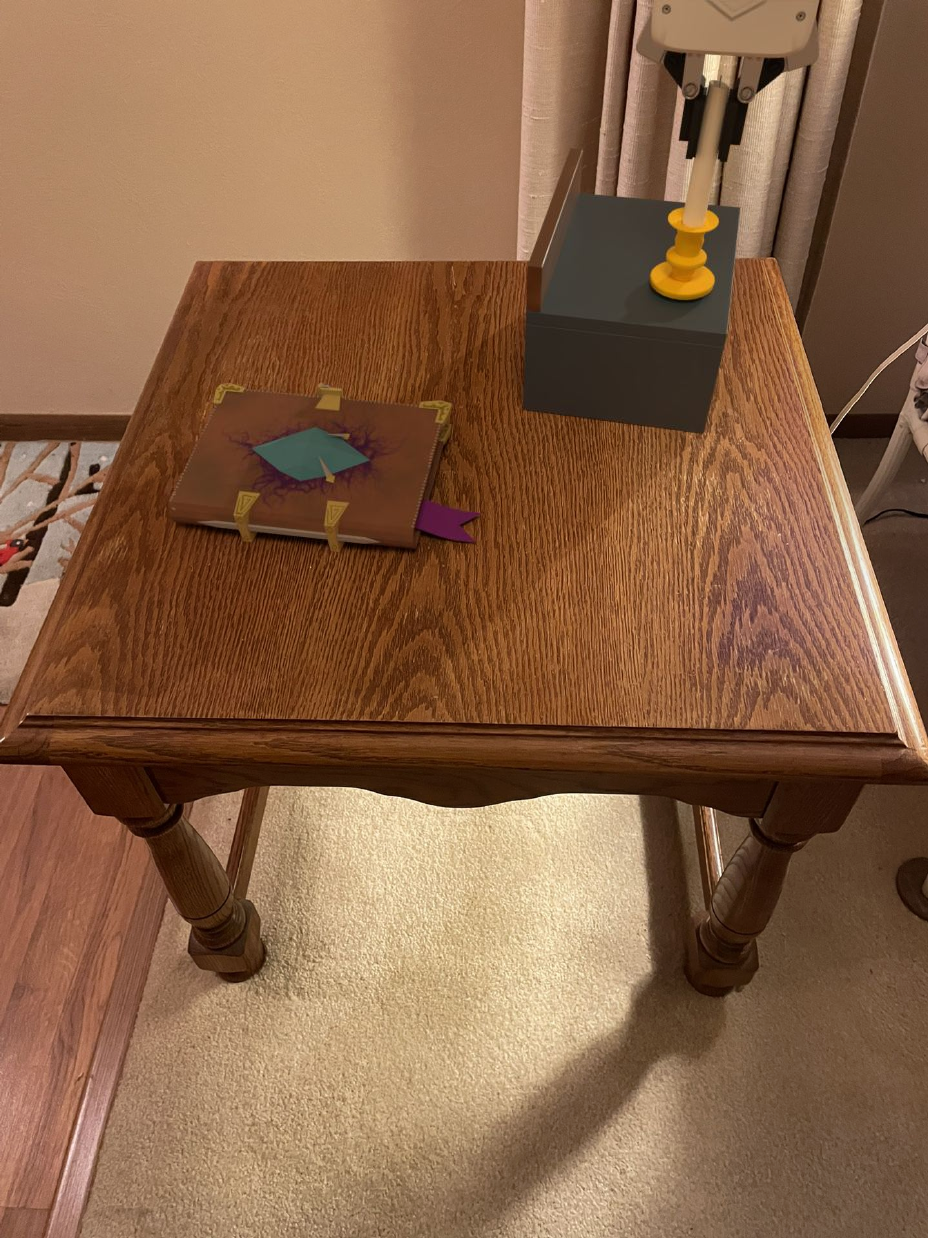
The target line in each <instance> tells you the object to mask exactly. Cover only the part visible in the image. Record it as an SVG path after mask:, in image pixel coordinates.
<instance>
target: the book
mask: <svg viewBox="0 0 928 1238" xmlns="http://www.w3.org/2000/svg"><path fill="white" fill-rule="evenodd" d="M316 387H317V388H316V389H317V390H316V391H317V392H316V393H317V394H316V395H315V394H314V395H311V394H301V393H291V392H278V391H268V390H256V389H246V387H244V386H241V385H238V384H234V383H231V382H227V383H221V384H219V385H218V386H217V387H216V388H215V391H214V397H213V402H212V404H213V406H214V407H212V411H211V412H210V415H209V417H208V419H207V421H206V423H205V425H204V427H203V429H202V431H201V433H200V435H199V438H198V440H197V441H196V443H195V445H194V448H193V450H192V452H191V454H190V456H189V457H188V460H187V463H186V465H185V466H184V468H183V471H182V473H181V475H180V477H179V480H178V481H177V483H176V485H175V487H174V489H173V492H172V493H171V496H170V498H169V500H168V514H169V515H168V516H169V517H170V520H171V521H172V522H174V523H177V524H178V523H180V524H189V525H197V526H198V525H199V526H205V527H207V526H208V527H214V528H221V529H229V530H238V532H239V534H240V536H241V539H242V541H243V542H245V543H246V542H247V543H253V542H254V540H255V539H256V536H257V535H258V533H265V534H266V533H267V534H273V535H275V534H276V535H284V536H293V537H302V538H312V539H320V540H321V539H322V540H327V542H328V546H329V550H330V552H334V553H341V551H342V549H343V547H344V545H345V543H356V544H364V545H365V544H367V545H378V546H385V547H386V546H387V547H395V548H403V549H411V550H417V548H418V544H419V540H420V537H421V533H422V531H423V532H425V533H428V534H431V535H434V536H437V537H439V538H443V539H447V540H450V541H454V542H466V543H467V542H468V543H477V541H476V540H475V539H474V538H473V537H472V536H471V535H470V534H469V533H468V532H467V531H466V530H465V529H464V528H463V527H462V526H461V525H462V524H465V523H467V522H468V521H469V522H470V521H471V520H473V519H474V518H477V517H479V516H480V515H483V512H475V511H467V510H460V509H456V508H453V507H449V506H445V505H442V504H439V503H437V502H434V501H431V500H430V498H431V494H432V490H433V487H434V483H435V479H436V475H437V471H438V468H439V465H440V464H439V463H440V460H441V456H442V452H443V448H444V445H446V443H447V441H448V439H449V438H450V436H451V432H452V427H453V424H452V423H450V422H449V423H448V421H449V419H450V418H451V415H452V411H453V403H451V402H448V401H445V400H442V399H440V400H439V399H438V400H427V401H420V402H419V404H411V403H402V402H401V403H400V402H393V401H392V402H391V401H380V400H370V399H369V400H368V399H357V398H346V397H345V396H344V391H343V389H342V387H341V388H340V387H331V386H330V385H329V384H324V383H323V382H321V381H320V382H319V383H318V384H317V385H316Z"/></svg>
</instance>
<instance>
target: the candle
mask: <svg viewBox="0 0 928 1238" xmlns="http://www.w3.org/2000/svg"><path fill="white" fill-rule="evenodd" d="M722 79H723V75H722V74H720V76H719V79H718V80H717V79H711V80H709V81H708V86H707V87H708V88H707V94H706V100H705V105H704V111H703V117H702V123H701V129H700V135H699V140H698V146H697V152H696V158H693V162H692V167H691V171H690V178H689V181H688V187H687V194H686V198H685V207H683V208H679V209H676V210H674V211H672V212H671V213H670V214H669V216H668V222H669V223H670V225H671V226H673V227H674V228H676V229H677V232H678V233H677V235H676V237H675V246H673V247H671V248H670V249H669V250H668V251H667V253H666V260H667V262H663V263H661V264H659V265H657V266H656V267H655V268H654V269H653V270H652V271H651V274H650V284H651V286H652V287H653V289H654V290H656V291H657V292H658V293H660V294H661V295H663V296H666V297H669V298H672V299H678V300H691V299H697V298H700V297H703V296H705V295H707V294H708V293H709V292H710V291H711V290H712V289H713V286H714V282H715V279H714V275H713V274H712V272H711V271H710V270H709V269H708V268H706V267H705V266H703V265H704V264H705V262H706V259H707V255H706V253H705V251H703V250H702V249H701V248H702V245H703V243H704V234H705V232H709V231H711V230H713V229H715V228H716V227H717V226H718V223H719V220H718V217H717V216H716V215H715V214H714V213H713V212H711V211H709V210H707V207H708V205H709V202H710V196H711V191H712V186H713V180H714V176H715V171H716V166H717V161H718V159H717V158H718V152H719V146H720V140H721V135H722V130H723V125H724V120H725V115H726V108H727V102H728V97H729V91H730V86H729V85H728V84H727V83H726V82H723V81H722Z"/></svg>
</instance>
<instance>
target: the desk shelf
mask: <svg viewBox="0 0 928 1238" xmlns="http://www.w3.org/2000/svg"><path fill="white" fill-rule="evenodd" d="M583 156H584V149H583V148H570V149H569V151H568V154H567V157H566V159H565V162H564V164H563V167H562V170H561V173H560V176H559V178H558V181H557V184H556V187H555V189H554V191H553V195H552V197H551V200H550V203H549V205H548V207H547V211H546V213H545V217H544V218H543V219H544V220H543V222H542V223H541V227H540V230H539V233H538V236H537V237H536V238H537V239H536V241H535V244H534V246H533V249H532V252H531V255H530V257H529V259H528V263H527V266H526V294H525V295H526V298H525V299H526V300H525V301H526V303H525V329H524V330H525V331H524V332H525V334H524V339H525V340H524V361H523V362H524V364H523V365H524V367H523V399H522V401H523V403H522V409H523V410H524V411H530V412H531V411H532V412H537V413H538V412H539V413H540V412H541V413H546V414H554V415H562V416H568V417H577V418H584V419H593V420H599V421H607V422H613V423H622V424H628V425H629V424H630V425H636V426H643V427H653V428H659V429H665V430H666V429H667V430H674V431H683V432H689V433H695V434H696V433H697V434H704V433H705V430H706V426H707V421H708V417H709V412H710V408H711V404H712V400H713V395H714V392H715V387H716V384H717V379H718V375H719V371H720V366H721V362H722V358H723V354H724V349H725V345H726V341H727V337H728V331H729V321H730V312H731V304H732V303H731V302H732V293H733V286H734V285H733V284H734V276H735V275H734V274H735V266H736V265H735V264H736V256H737V248H738V238H739V237H738V236H739V229H740V227H739V226H740V218H741V210H742V209H741V207H738V206H729V205H717V204H708V207H707V210H709V211H711V212H713V213H714V214H715V215H716V216H717V217H718V220H719V223H718V226H717V227H716V228H715V229H713V230H711V231H709V232H705V234H704V243H703V245H702V248H701V249H702V250H703V251H705V253H706V255H707V259H706V262H705V264H704V265H703V266H705V267H706V268H708V269H709V270H710V271H711V272H712V274H713V275H714V279H715V282H714V286H713V289H712V290H711V291H710V292H709V293H708V294H707V295H705V296H703V297H700V298H697V299H691V300H678V299H672V298H669V297H666V296H663V295H661V294H660V293H658V292H657V291H656V290H654V289H653V287H652V286H651V284H650V274H651V271H652V270H653V269H654V268H655V267H656V266H657V265H659V264H661V263H663V262H667V260H666V253H667V251H668V250H669V249H670V248H671V247H673V246H675V237H676V235H677V233H678V232H677V229H676V228H674V227H673V226H671V225H670V223H669V222H668V216H669V214H670V213H671V212H672V211H674V210H676V209H679V208H683V207H685V203H686V201H684V202H683V201H674V200H673V201H672V200H664V199H663V200H662V199H650V198H639V197H628V196H616V195H606V194H596V193H595V194H594V193H584V192H581V184H582V169H583V158H584V157H583Z"/></svg>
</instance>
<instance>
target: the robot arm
mask: <svg viewBox="0 0 928 1238" xmlns="http://www.w3.org/2000/svg"><path fill="white" fill-rule="evenodd" d="M819 3H820V0H653V2H652V7H651V9H650V11H649V13H648V16H647V18H646V20H645V22H644V24H643V27H642V29H641V31H640V33H639V35H638V38H637V40H636V44H635V49H636V52H637V53H638V54H639V55H641V56H642V57H644V58H646V59H648V60H649V61H652V62H654V63H655V64H658V65H659V64H660V65H662V66H664V68H665V70H666V71H667V72H668V74H669V75H670V77H671V78H672V79H673V80H674V82H675V84H676V85H677V86H678V87H679V88H680V90H681V95H682V97H683V98H684V103H683V108H682V115H681V121H680V127H679V135H678V142H687V146H686V152H685V160H694V158H696V152H697V146H698V140H699V135H700V129H701V123H702V117H703V111H704V105H705V100H706V95H707V90H708V86H706V81H707V78H706V76H705V75H704V67H705V59H706V55H710V56H727V57H743V60H742V65H741V69H740V74H739V77H737V78H736V79H735V80H734V83H733V86H732V88H729V95H728V102H727V108H726V115H725V120H724V125H723V130H722V135H721V140H720V146H719V151H718V156H717V161H719V163H728V160H729V154H730V149H731V146H741V144H742V143H741V142H742V139H743V133H744V129H745V125H746V119H747V114H748V109H749V105H750V103H751V102H753V101H754V99H755V97H756V95H757V94H758V93H760V92H761V91H762V90H764V89H765V88H766V87H767V86H768V85H770V84H771V83H772V82H773V81H775V80H776V79H778V77H779V76H781V75H782V74H783V73H786V72H789V73H790V72H793V71H796V70H799V69H802V68H806V67H809V66H811V65H813V64H815V63H816V62H817V61H818V59H819V57H820V56H819V55H820V46H819V35H818V26H817V25H818V23H817V12H818V7H819Z"/></svg>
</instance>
